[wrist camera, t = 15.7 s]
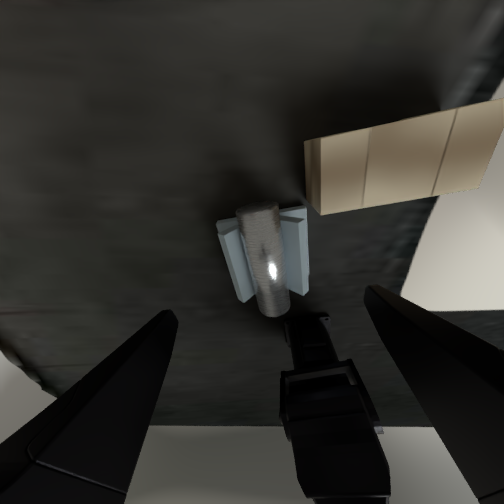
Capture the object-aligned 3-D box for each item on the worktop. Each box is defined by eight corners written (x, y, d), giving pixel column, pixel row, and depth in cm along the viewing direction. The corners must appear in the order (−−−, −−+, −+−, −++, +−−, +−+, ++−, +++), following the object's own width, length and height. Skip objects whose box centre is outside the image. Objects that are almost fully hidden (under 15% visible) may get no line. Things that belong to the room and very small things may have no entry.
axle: (288, 291, 21) (291, 316, 18) (259, 293, 22) (257, 317, 19) (277, 198, 16) (279, 210, 13) (238, 204, 16) (231, 218, 13)
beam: (423, 178, 16) (478, 188, 12) (306, 199, 18) (320, 215, 14) (441, 110, 14) (517, 95, 10) (304, 141, 15) (320, 138, 11)
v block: (307, 269, 22) (317, 294, 18) (235, 279, 23) (231, 304, 19) (304, 205, 18) (316, 220, 14) (217, 220, 19) (208, 238, 15)
